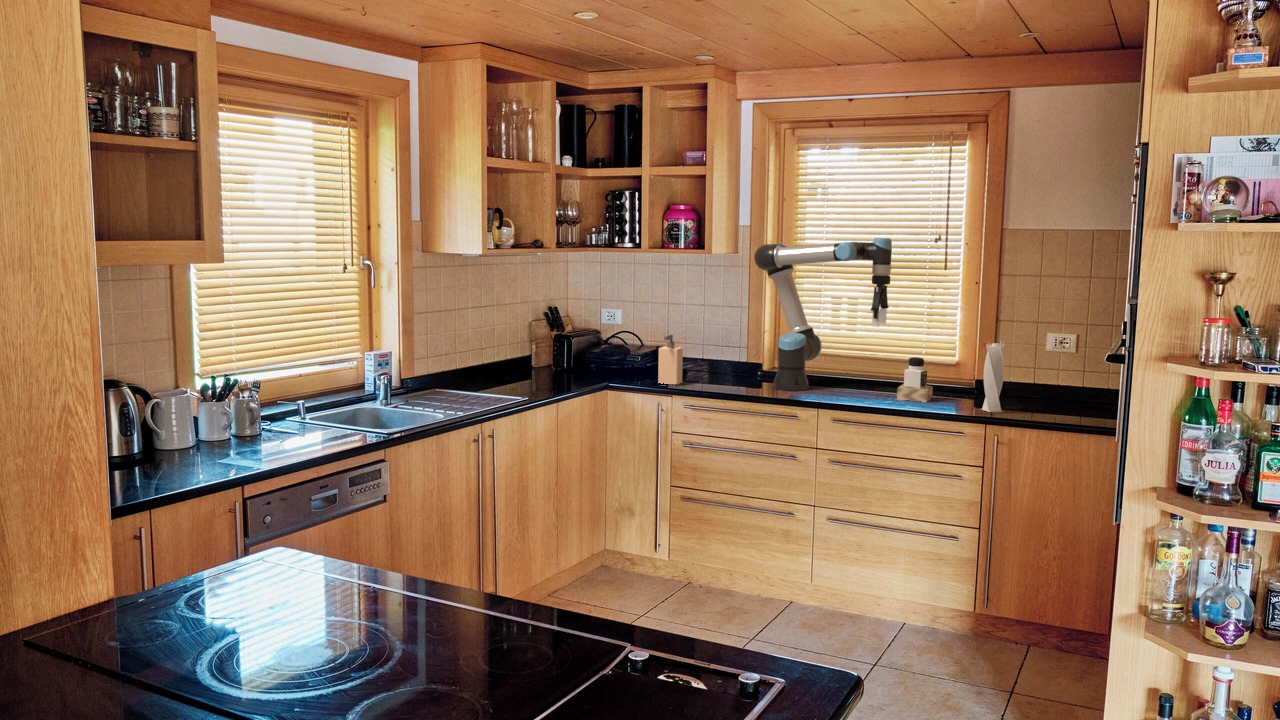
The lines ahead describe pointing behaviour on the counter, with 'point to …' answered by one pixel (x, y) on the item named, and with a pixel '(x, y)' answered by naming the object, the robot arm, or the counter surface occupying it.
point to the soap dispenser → (670, 363)
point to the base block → (914, 393)
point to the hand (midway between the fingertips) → (879, 325)
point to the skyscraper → (993, 377)
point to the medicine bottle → (915, 373)
